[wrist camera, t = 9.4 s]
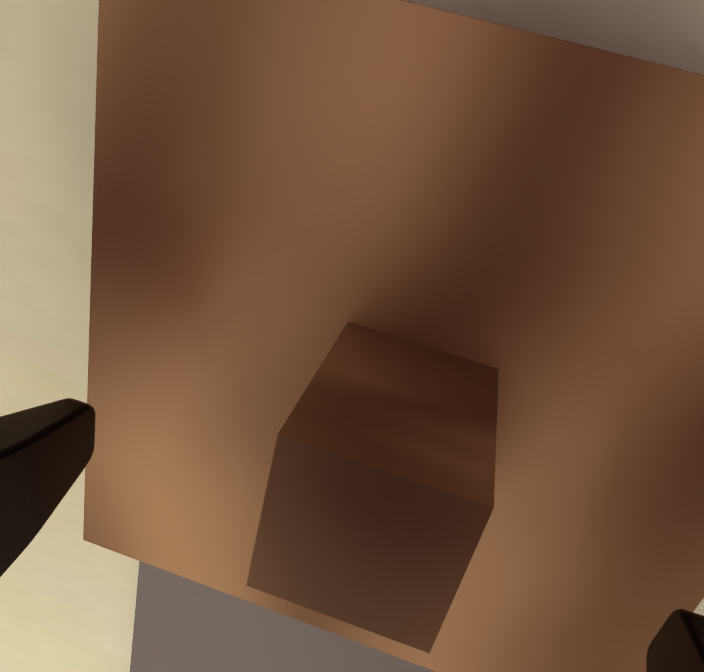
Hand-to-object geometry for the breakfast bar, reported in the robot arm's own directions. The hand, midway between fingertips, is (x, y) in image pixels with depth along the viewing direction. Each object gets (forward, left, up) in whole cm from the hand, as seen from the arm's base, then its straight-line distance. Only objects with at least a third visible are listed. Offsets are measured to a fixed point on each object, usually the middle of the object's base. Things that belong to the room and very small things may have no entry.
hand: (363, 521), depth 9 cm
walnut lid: (0, 0, -4) cm, 4 cm away
